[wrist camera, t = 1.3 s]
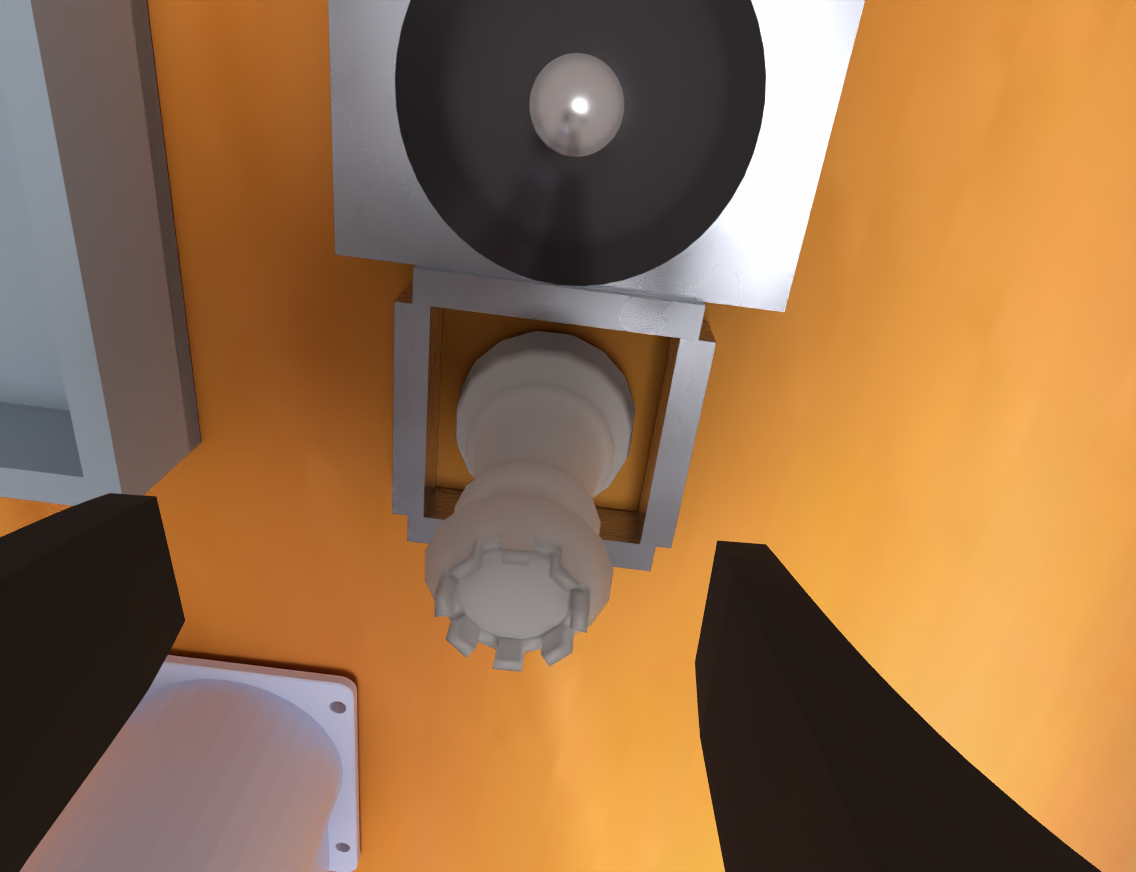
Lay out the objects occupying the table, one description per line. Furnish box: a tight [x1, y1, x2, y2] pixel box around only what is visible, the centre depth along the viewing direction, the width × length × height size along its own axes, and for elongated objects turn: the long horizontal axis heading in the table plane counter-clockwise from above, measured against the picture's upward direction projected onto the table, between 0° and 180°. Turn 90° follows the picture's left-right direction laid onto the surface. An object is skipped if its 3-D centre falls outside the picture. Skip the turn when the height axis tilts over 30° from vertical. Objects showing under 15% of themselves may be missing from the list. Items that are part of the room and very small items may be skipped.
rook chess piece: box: [425, 331, 635, 672], centre depth 15 cm, size 4×4×8 cm
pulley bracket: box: [328, 0, 865, 571], centre depth 16 cm, size 15×10×4 cm
